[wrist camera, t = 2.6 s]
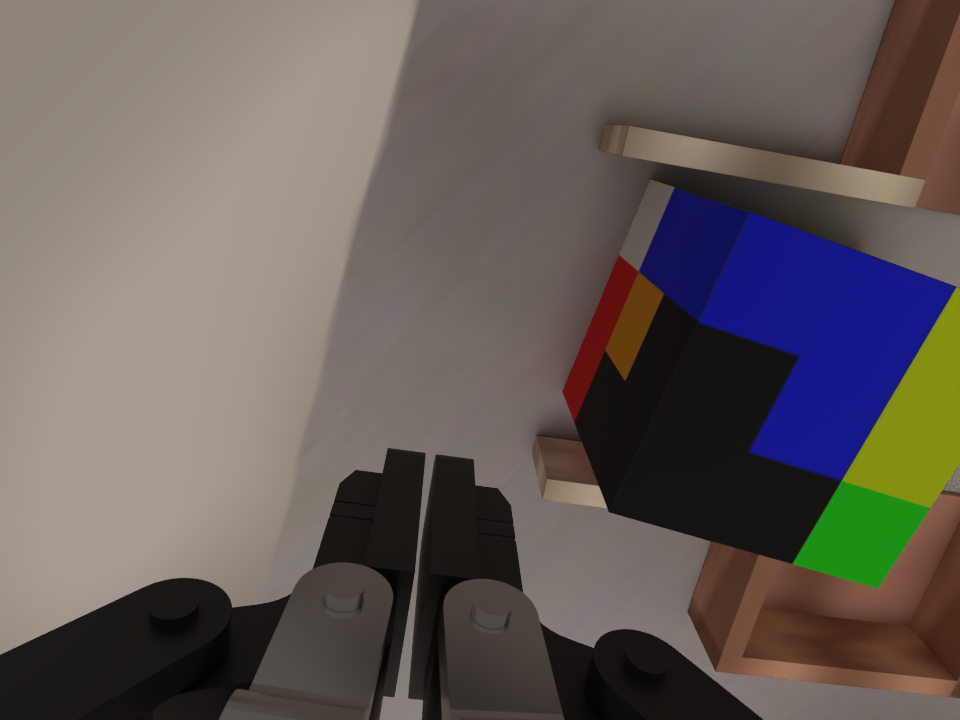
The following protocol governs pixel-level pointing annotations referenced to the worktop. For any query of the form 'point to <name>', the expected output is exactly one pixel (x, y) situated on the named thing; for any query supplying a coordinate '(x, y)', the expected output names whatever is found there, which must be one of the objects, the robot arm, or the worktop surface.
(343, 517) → the robot arm
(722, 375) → the puzzle toy
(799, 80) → the worktop surface
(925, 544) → the open sectioned tray
